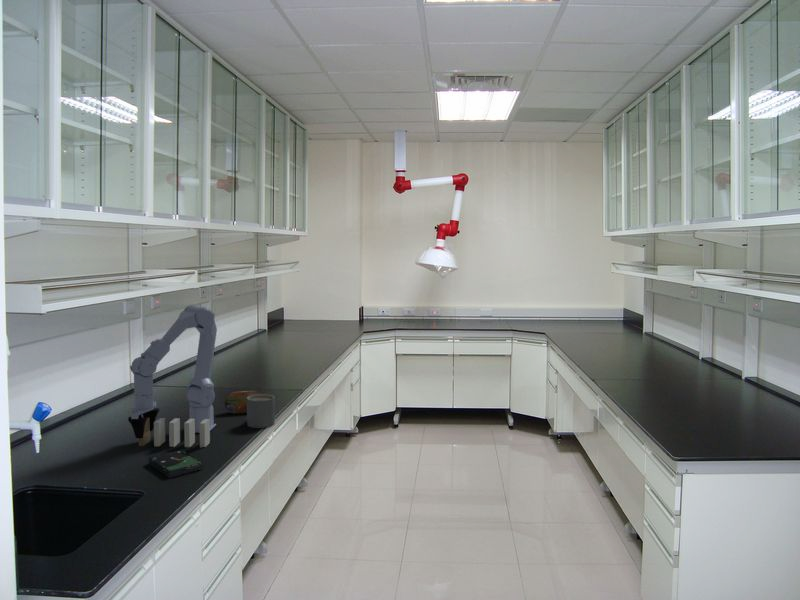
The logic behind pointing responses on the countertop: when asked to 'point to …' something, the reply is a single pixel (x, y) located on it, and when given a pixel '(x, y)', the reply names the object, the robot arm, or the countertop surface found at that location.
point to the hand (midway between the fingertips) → (144, 434)
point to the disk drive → (175, 463)
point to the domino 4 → (204, 432)
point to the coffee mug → (260, 410)
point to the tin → (238, 401)
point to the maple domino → (145, 434)
